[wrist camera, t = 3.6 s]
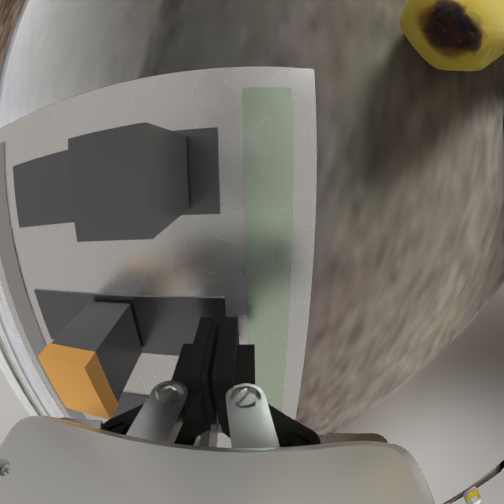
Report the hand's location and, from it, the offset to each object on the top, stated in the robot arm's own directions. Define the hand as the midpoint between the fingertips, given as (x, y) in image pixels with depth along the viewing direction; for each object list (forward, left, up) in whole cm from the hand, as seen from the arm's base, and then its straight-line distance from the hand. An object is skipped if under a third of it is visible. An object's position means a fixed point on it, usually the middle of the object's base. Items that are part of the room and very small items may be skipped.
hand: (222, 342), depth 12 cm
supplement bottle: (+105, +92, -3) cm, 140 cm away
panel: (0, -6, -3) cm, 6 cm away
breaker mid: (0, -6, -1) cm, 6 cm away
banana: (-20, +16, -3) cm, 26 cm away
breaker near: (-8, -2, -1) cm, 8 cm away
